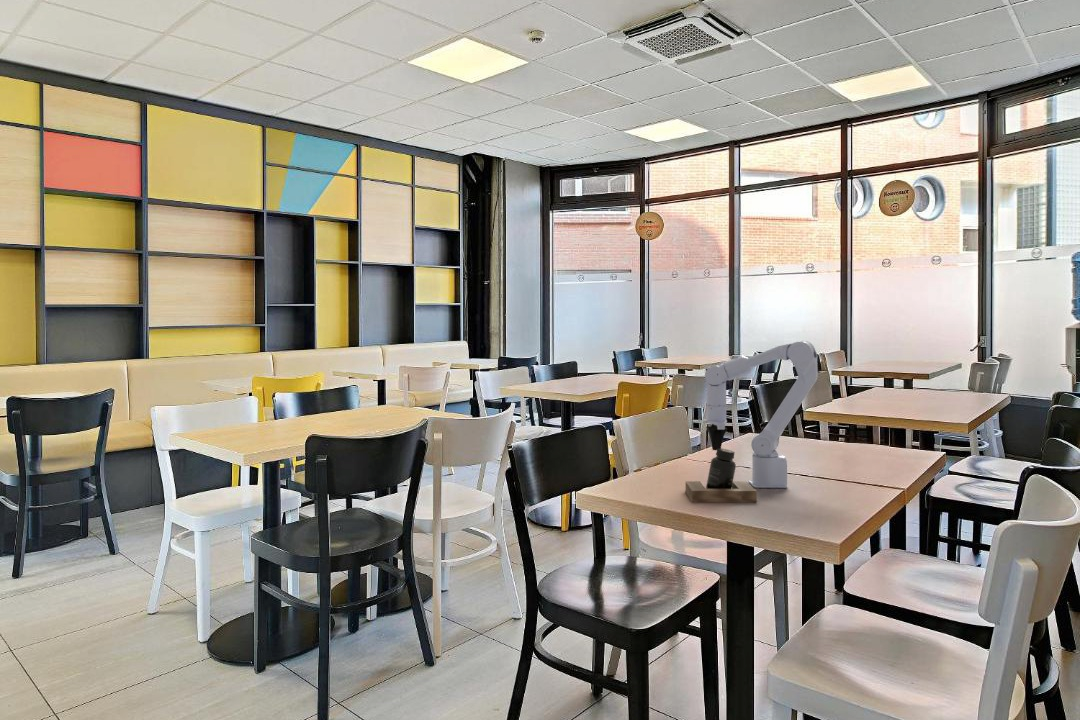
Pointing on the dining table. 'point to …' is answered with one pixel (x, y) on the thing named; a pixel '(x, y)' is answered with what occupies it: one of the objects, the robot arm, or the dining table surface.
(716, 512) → the dining table surface
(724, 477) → the supplement bottle
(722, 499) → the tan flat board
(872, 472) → the dining table surface
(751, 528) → the dining table surface
